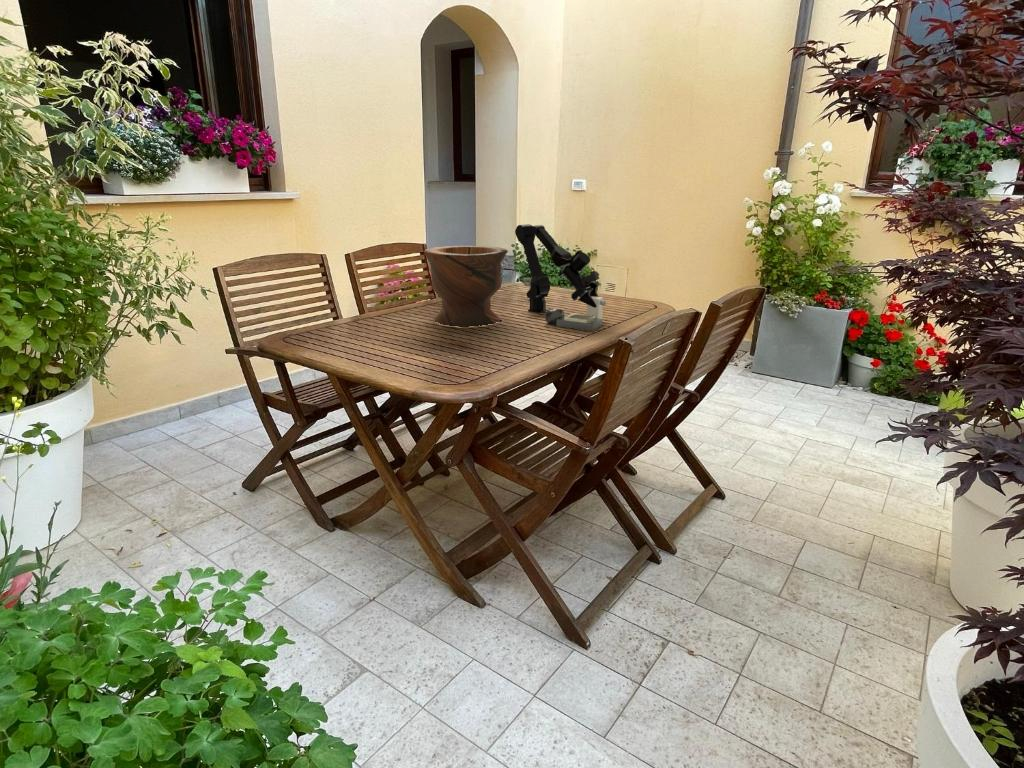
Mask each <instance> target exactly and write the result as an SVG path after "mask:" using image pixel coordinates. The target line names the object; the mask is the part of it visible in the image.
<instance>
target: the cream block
mask: <svg viewBox="0 0 1024 768" xmlns="http://www.w3.org/2000/svg"><path fill="white" fill-rule="evenodd" d="M591 297H592V299H593V301H594V302H595V304H596V306H597V307H596V308H594V307H592V306H590V305H588V304H586V306H587V307H586V308H587V309H586V315H593V316H595V318H599V319H602V320H603V308H604V307H603V306H606V304H607V301H605V300H604V297H603V296H598V297H596V296H591Z"/></svg>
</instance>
